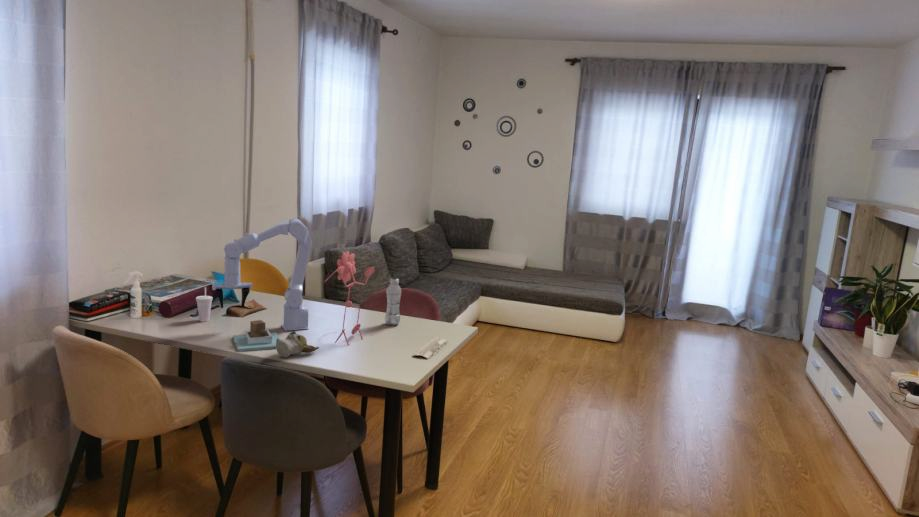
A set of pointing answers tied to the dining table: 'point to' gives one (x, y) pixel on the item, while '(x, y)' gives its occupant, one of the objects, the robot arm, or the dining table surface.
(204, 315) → the smoothie
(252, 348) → the board
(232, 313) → the sunglasses case
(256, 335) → the peg
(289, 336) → the ceramic sculpture
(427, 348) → the newspaper
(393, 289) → the plastic bottle
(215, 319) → the dining table surface
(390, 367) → the dining table surface
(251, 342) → the socket
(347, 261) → the figurine
